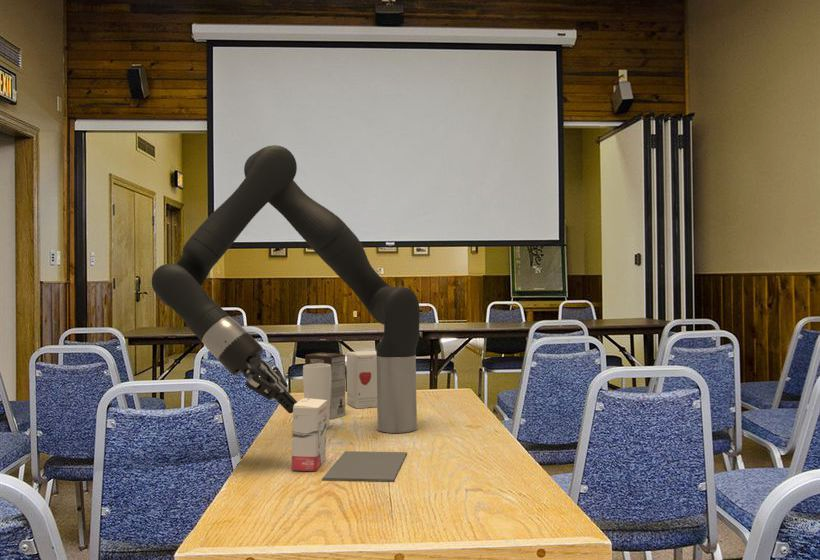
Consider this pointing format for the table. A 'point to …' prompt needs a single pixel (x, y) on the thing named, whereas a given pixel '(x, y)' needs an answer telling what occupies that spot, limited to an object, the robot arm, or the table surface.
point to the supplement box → (362, 379)
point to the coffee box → (333, 379)
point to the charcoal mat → (366, 466)
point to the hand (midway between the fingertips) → (295, 409)
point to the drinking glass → (318, 383)
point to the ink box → (309, 434)
